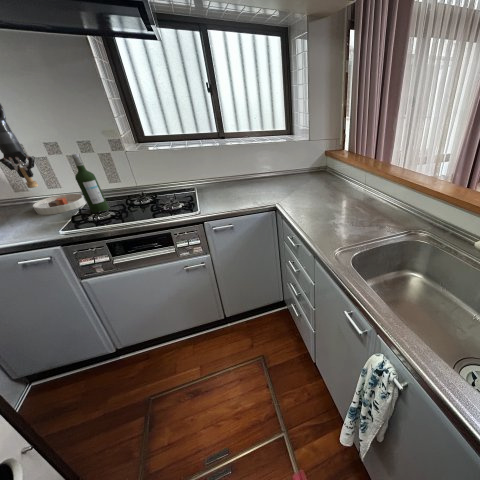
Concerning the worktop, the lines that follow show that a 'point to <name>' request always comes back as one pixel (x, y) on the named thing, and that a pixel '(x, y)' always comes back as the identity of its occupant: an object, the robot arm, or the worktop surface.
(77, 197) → the bowl
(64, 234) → the worktop surface
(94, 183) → the wine bottle
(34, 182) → the muddler
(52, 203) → the walnut block
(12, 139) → the robot arm
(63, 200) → the terracotta block
